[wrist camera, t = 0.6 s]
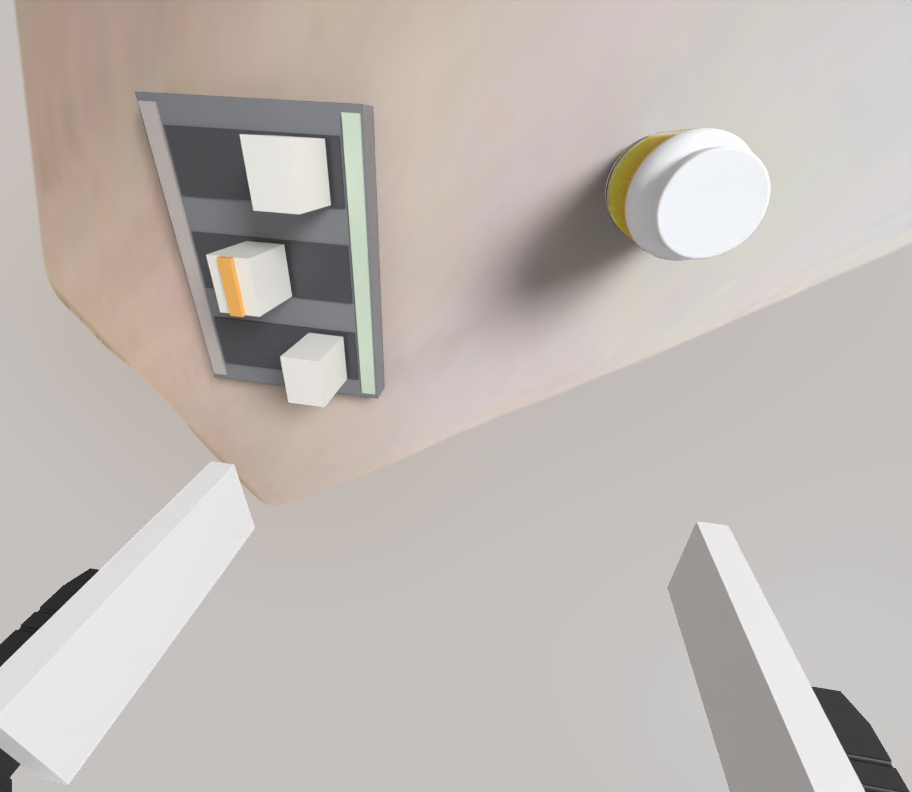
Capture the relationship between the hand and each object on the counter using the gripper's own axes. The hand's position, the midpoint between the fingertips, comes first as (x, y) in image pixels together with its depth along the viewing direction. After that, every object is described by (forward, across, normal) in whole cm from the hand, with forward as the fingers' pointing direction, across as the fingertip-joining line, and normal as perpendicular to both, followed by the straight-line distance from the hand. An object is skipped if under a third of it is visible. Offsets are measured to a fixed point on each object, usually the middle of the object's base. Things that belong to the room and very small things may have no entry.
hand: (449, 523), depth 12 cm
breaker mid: (+22, -18, +1) cm, 28 cm away
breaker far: (+22, -14, -6) cm, 27 cm away
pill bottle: (+25, +10, +7) cm, 28 cm away
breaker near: (+22, -14, +8) cm, 27 cm away
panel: (+25, -18, +1) cm, 30 cm away
